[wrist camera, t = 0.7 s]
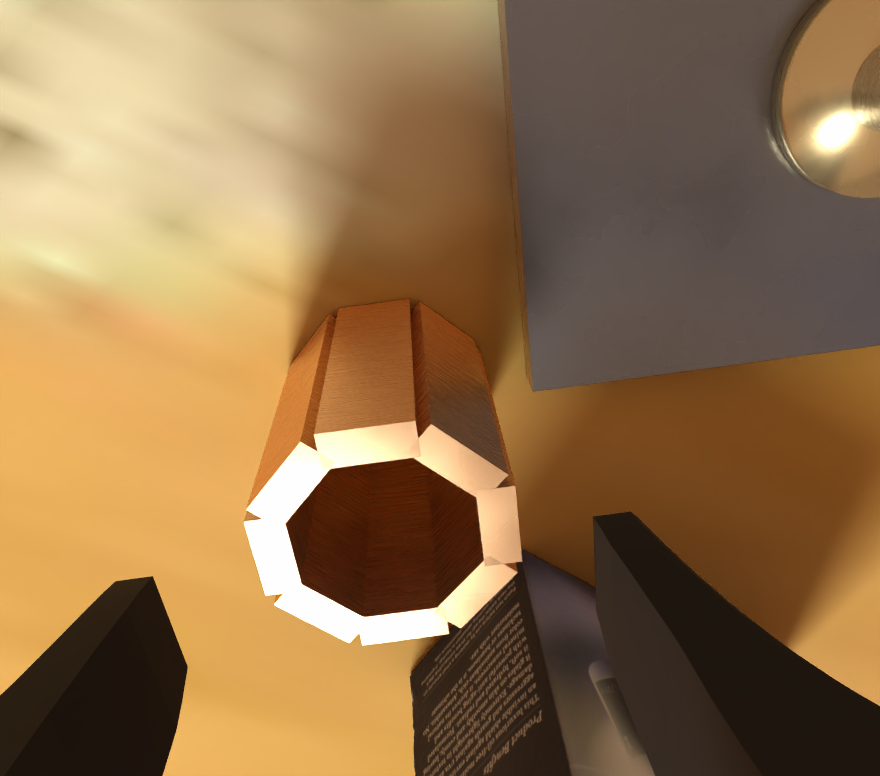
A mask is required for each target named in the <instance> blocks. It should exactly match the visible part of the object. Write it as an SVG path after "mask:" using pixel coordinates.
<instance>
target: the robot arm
mask: <svg viewBox="0 0 880 776" xmlns="http://www.w3.org/2000/svg"><path fill="white" fill-rule="evenodd" d="M593 528H594V557H595V587H596V612H597V616H598V620H599V623H600V627H601V631H602V635H603V638H604V642H605V646H606V649H607V653H608V656H609V660H610V663H611V667H612V670H613V673H614V675H615V678H616V680H617V683H618V685H619V688H620V690H621V693H622V695H623V698H624V700H625V703H626V705H627V708H628V710H629V713H630V715H631V717H632V720H633V722H634V725H635V727H636V730H637V732H638V735H639V737H640V740H641V742H642V744H643V747H644V749H645V752H646V754H647V757H648V759H649V762H650V764H651V767H652V769H653V771H654V774H655V776H880V706H878V705H877V704H875V703H873V702H872V701H870V700H868V699H866V698H865V697H863V696H861V695H859V694H858V693H856V692H854V691H853V690H851V689H850V688H848V687H846V686H845V685H843V684H841V683H840V682H838V681H837V680H835V679H833V678H832V677H830V676H829V675H827V674H826V673H824V672H823V671H821V670H820V669H818V668H817V667H815V666H814V665H812V664H811V663H809V662H808V661H806V660H805V659H803V658H802V657H800V656H799V655H797V654H796V653H795V652H793V651H792V650H790V649H789V648H788V647H786V646H785V645H783V644H782V643H781V642H779V641H778V640H777V639H775V638H774V637H773V636H771V635H770V634H769V633H767V632H766V631H765V630H763V629H762V628H761V627H760V626H758V625H757V624H756V623H755V622H753V621H752V620H751V619H749V618H748V617H747V616H746V615H744V614H743V613H742V612H741V611H739V610H738V609H737V608H736V607H735V606H733V605H732V604H731V603H730V602H728V601H727V600H726V599H725V598H724V597H723V596H721V595H720V594H719V593H718V592H717V591H716V590H715V589H713V588H712V587H711V586H710V585H709V584H708V583H706V582H705V581H704V580H703V579H702V578H701V577H700V576H698V575H697V574H696V573H695V572H694V571H693V570H692V569H691V568H690V567H688V566H687V565H686V564H685V563H684V562H683V561H682V560H681V559H680V558H679V557H678V556H677V555H676V554H675V553H674V552H672V551H671V550H670V549H669V548H668V547H667V546H666V545H665V544H664V543H663V542H662V541H661V540H660V539H659V538H658V537H657V536H656V535H655V534H654V533H653V532H652V531H651V530H650V529H649V528H648V527H647V526H646V525H645V524H644V523H643V522H642V521H641V520H640V519H639V518H638V517H637V516H635V515H634V514H633V513H632V512H625V513H618V514H610V515H603V516H595V517H593ZM187 668H188V667H187V664H186V661H185V659H184V656H183V654H182V651H181V648H180V646H179V643H178V641H177V638H176V636H175V633H174V630H173V628H172V625H171V623H170V620H169V617H168V615H167V612H166V610H165V607H164V604H163V602H162V599H161V597H160V594H159V592H158V589H157V586H156V584H155V581H154V579H153V576H152V577H144V578H137V579H130V580H122V581H116V582H114V583H113V584H112V585H111V586H110V587H109V588H108V589H107V590H106V591H105V592H104V593H103V594H102V595H101V596H100V597H99V598H98V599H97V600H96V601H95V602H94V603H93V604H91V605H90V607H89V608H88V609H87V610H86V611H85V612H84V613H83V614H82V615H81V616H80V617H79V618H78V619H77V620H76V621H75V622H74V623H73V624H72V625H71V626H70V627H69V628H68V629H67V630H66V631H65V632H64V633H63V634H62V635H61V636H60V637H59V638H58V639H57V640H56V641H55V642H54V643H53V644H52V645H51V646H50V647H49V648H48V649H47V650H46V651H45V652H44V653H43V654H42V655H41V656H40V657H39V658H38V659H37V660H36V661H35V662H34V663H33V664H32V665H31V666H30V667H29V668H28V669H27V670H26V671H25V672H24V673H23V674H22V675H21V676H20V677H19V678H18V679H17V680H16V681H15V682H14V683H13V684H12V685H11V686H10V687H9V688H8V689H7V690H6V691H5V692H3V693H2V694H1V695H0V776H162V775H163V772H164V769H165V765H166V762H167V759H168V756H169V753H170V749H171V746H172V743H173V739H174V736H175V733H176V729H177V725H178V719H179V714H180V709H181V704H182V699H183V692H184V686H185V680H186V674H187Z"/></svg>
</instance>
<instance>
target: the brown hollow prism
mask: <svg viewBox="0 0 880 776" xmlns="http://www.w3.org/2000/svg"><path fill="white" fill-rule="evenodd" d="M246 510H247V513H246V516H245V519H244V524H245V528H246V531H247V534H248V538H249V541H250V544H251V548H252V551H253V554H254V558H255V561H256V564H257V568H258V571H259V574H260V578H261V581H262V584H263V588H264V591H265V594H266V595H273V594H276V599H275V603H274V605H276V606H278V607H280V608H281V609H283V610H285V611H287V612H289V613H291V614H293V615H295V616H297V617H299V618H301V619H303V620H305V621H307V622H309V623H311V624H313V625H315V626H317V627H319V628H321V629H322V630H324V631H326V632H328V633H330V634H332V635H334V636H336V637H338V638H340V639H342V640H344V641H346V642H348V643H350V642H351V641H352V640H353V639H354V638H355V636H356V635H357V634H358V633H359V632H360V636H361V641H362V645H369V644H376V643H384V642H392V641H399V640H407V639H414V638H422V637H429V636H437V635H444V634H449V628H448V622H450V623H452V624H454V625H456V626H458V627H459V628H462V627H463V626H464V625H465V624H466V623H467V622H468V621H469V620H470V619H471V618H472V617H473V616H474V615H475V614H476V613H477V612H478V611H479V610H480V609H481V608H482V607H483V606H484V605H485V604H486V603H487V602H488V601H489V600H490V599H491V598H492V597H493V596H494V595H495V594H496V593H497V592H498V591H499V590H500V589H501V588H502V587H503V586H505V585H506V584H507V583H508V582H509V581H510V580H511V579H512V578H513V577H514V576H515V575H516V574H517V573H518V571H517V567H516V562H522V554H521V543H520V532H519V521H518V510H517V499H516V488H515V483H514V479H513V475H512V471H511V467H510V463H509V459H508V456H507V452H506V448H505V444H504V440H503V436H502V433H501V429H500V425H499V421H498V417H497V413H496V409H495V406H494V402H493V398H492V394H491V390H490V386H489V382H488V379H487V375H486V371H485V367H484V363H483V359H482V355H481V352H480V349H477V347H476V343H475V340H473V339H472V338H470V337H469V336H468V335H466V334H465V333H463V332H462V331H461V330H459V329H458V328H456V327H455V326H454V325H452V324H451V323H449V322H448V321H447V320H445V319H444V318H443V317H441V316H440V315H438V314H437V313H436V312H434V311H433V310H431V309H430V308H429V307H427V306H426V305H424V304H423V303H422V302H419V303H418V304H417V306H416V307H415V308H414V309H413V311H412V312H411V308H410V301H409V299H404V300H396V301H389V302H381V303H374V304H367V305H359V306H352V307H344V308H339V309H338V314H337V319H336V318H335V317H333V316H332V315H331V314H329V315H328V316H327V317H326V319H325V320H324V321H323V322H322V324H321V325H320V326H319V328H318V329H317V330H316V332H315V333H314V334H313V336H312V337H311V338H310V340H309V341H308V342H307V344H306V345H305V346H304V348H303V349H302V350H301V352H300V353H299V354H298V356H297V357H296V358H295V360H294V361H293V362H292V364H291V365H290V368H289V371H288V374H287V377H286V381H285V384H284V387H283V391H282V394H281V397H280V400H279V404H278V407H277V410H276V413H275V417H274V420H273V423H272V427H271V430H270V433H269V436H268V440H267V443H266V446H265V450H264V453H263V456H262V459H261V463H260V466H259V469H258V472H257V476H256V479H255V482H254V486H253V489H252V492H251V495H250V499H249V502H248V505H247V509H246Z"/></svg>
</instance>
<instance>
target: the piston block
mask: <svg viewBox="0 0 880 776" xmlns="http://www.w3.org/2000/svg"><path fill="white" fill-rule="evenodd" d="M498 12H499V25H500V38H501V51H502V64H503V77H504V90H505V103H506V116H507V129H508V143H509V156H510V169H511V182H512V195H513V208H514V221H515V234H516V247H517V260H518V273H519V286H520V299H521V312H522V326H523V339H524V352H525V365H526V375H527V377H528V380H529V383H530V385H531V388H532V391H533V392H535V391H542V390H549V389H557V388H564V387H572V386H579V385H587V384H594V383H602V382H609V381H617V380H624V379H632V378H639V377H647V376H654V375H661V374H669V373H676V372H684V371H691V370H699V369H706V368H714V367H721V366H729V365H736V364H744V363H751V362H759V361H766V360H773V359H781V358H788V357H796V356H803V355H811V354H818V353H826V352H833V351H841V350H848V349H856V348H863V347H871V346H878V345H880V0H498Z"/></svg>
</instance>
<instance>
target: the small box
mask: <svg viewBox="0 0 880 776" xmlns="http://www.w3.org/2000/svg"><path fill="white" fill-rule="evenodd" d="M521 554H522V562H516V567H517V571H518V573H517V574H516V575H515V576H514V577H513V578H512V579H511V580H510V581H509V582H508V583H507V584H506V585H505V586H503V587H502V588H501V589H500V590H499V591H498V592H497V593H496V594H495V595H494V596H493V597H492V598H491V599H490V600H489V601H488V602H487V603H486V604H485V605H484V606H483V607H482V608H481V609H480V610H479V611H478V612H477V613H476V614H475V615H474V616H473V617H472V618H471V619H470V620H469V621H468V622H467V623H466V624H465V625H464V626H463V627H462V628H459V627H458V626H456V625H454V624H453V625H452V626H451V627H450V628H449V634H444V636H443V637H442V638H441V639H440V640H439V641H438V643H437V644H436V645H435V646H434V648H433V649H432V650H431V651H430V652H429V653H428V654H427V656H426V657H425V658H424V659H423V660H422V662H421V663H420V664H419V665H418V666H417V668H416V669H415V670H414V671H413V673H412V674H411V676H410V683H411V694H412V698H413V702H412V707H413V729H414V768H415V776H655V774H654V771H653V769H652V767H651V764H650V762H649V759H648V757H647V754H646V752H645V749H644V747H643V744H642V742H641V740H640V737H639V735H638V732H637V730H636V727H635V725H634V722H633V720H632V717H631V715H630V713H629V710H628V708H627V705H626V703H625V700H624V698H623V695H622V693H621V690H620V688H619V685H618V683H617V680H616V678H615V675H614V673H613V670H612V667H611V663H610V660H609V656H608V653H607V649H606V646H605V642H604V638H603V635H602V631H601V627H600V623H599V620H598V616H597V612H596V588H595V587H593V586H591V585H590V584H588V583H586V582H584V581H582V580H580V579H578V578H576V577H574V576H572V575H571V574H569V573H567V572H565V571H563V570H561V569H559V568H557V567H555V566H553V565H551V564H549V563H547V562H545V561H544V560H542V559H540V558H538V557H536V556H534V555H532V554H530V553H528V552H526V551H525V550H522V549H521Z"/></svg>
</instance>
